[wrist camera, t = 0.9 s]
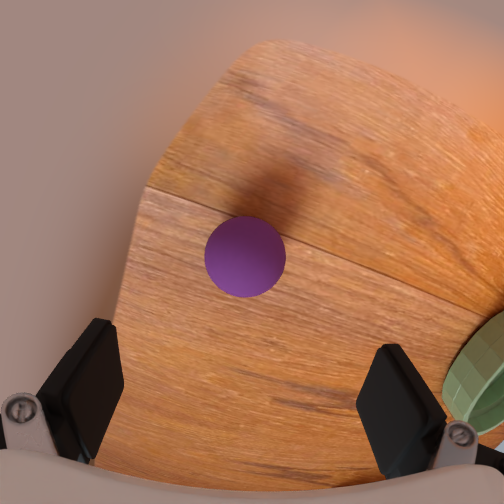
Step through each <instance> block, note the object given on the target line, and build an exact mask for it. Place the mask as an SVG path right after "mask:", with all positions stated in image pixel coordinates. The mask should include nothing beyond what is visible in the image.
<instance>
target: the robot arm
mask: <svg viewBox="0 0 504 504" xmlns="http://www.w3.org/2000/svg"><path fill="white" fill-rule="evenodd" d="M123 389H124V379H123V373H122V367H121V361H120V354H119V347H118V340H117V332H116V327H115V326H114V325H112V323H111V321H110V320H104V319H99V318H94V319H93V320H92V322H91V323H90V324H89V325H88V327H87V328H86V329H85V331H84V332H83V333H82V334H81V336H80V337H79V338H78V340H77V341H76V342H75V344H74V345H73V346H72V348H71V349H69V350H68V351H67V352H66V354H65V355H64V356H63V358H62V359H61V360H60V362H59V363H58V364H57V366H56V367H55V369H54V370H53V371H52V373H51V374H50V376H49V377H48V378H47V380H46V381H45V383H44V384H43V385H42V387H41V388H40V390H39V391H38V393H37V394H36V396H34V395H32V394H29V393H16V394H13V395H11V396H10V397H8V398H7V399H6V400H5V401H4V402H3V404H2V407H1V414H0V504H504V453H502V452H499V451H497V450H494V449H491V448H489V447H486V446H484V445H481V444H479V443H478V434H477V431H476V430H475V429H474V427H473V426H471V425H470V424H469V423H467V422H465V421H461V420H454V421H451V422H449V423H448V424H447V423H446V421H445V420H446V418H447V415H446V414H445V412H444V411H443V409H442V408H441V406H440V404H439V403H438V401H437V400H436V398H435V397H434V395H433V394H432V392H431V391H430V389H429V387H428V386H427V384H426V383H425V381H424V380H423V378H422V377H421V375H420V374H419V372H418V371H417V370H416V368H415V367H414V365H413V364H412V362H411V361H410V359H409V358H408V356H407V355H406V354H405V352H404V351H403V349H402V348H401V346H400V345H399V344H383V345H382V347H381V348H379V349H378V350H377V352H376V354H375V357H374V360H373V362H372V365H371V367H370V370H369V372H368V374H367V377H366V379H365V382H364V384H363V386H362V388H361V391H360V393H359V395H358V398H357V400H356V408H357V411H358V413H359V416H360V418H361V421H362V424H363V426H364V429H365V432H366V434H367V437H368V440H369V442H370V445H371V448H372V451H373V453H374V456H375V459H376V462H377V464H378V467H379V470H380V472H381V474H383V475H385V477H386V480H383V481H378V482H372V483H367V484H360V485H354V486H346V487H338V488H329V489H318V490H304V491H278V492H258V491H232V490H218V489H207V488H198V487H189V486H182V485H175V484H169V483H163V482H157V481H152V480H147V479H142V478H138V477H133V476H129V475H125V474H120V473H116V472H112V471H108V470H105V469H101V468H97V467H94V466H91V465H88V464H89V461H90V459H95V457H96V455H97V453H98V450H99V447H100V445H101V442H102V440H103V437H104V435H105V432H106V430H107V427H108V425H109V423H110V420H111V418H112V415H113V413H114V411H115V408H116V406H117V403H118V401H119V399H120V396H121V394H122V392H123Z"/></svg>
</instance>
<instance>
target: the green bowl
mask: <svg viewBox="0 0 504 504" xmlns="http://www.w3.org/2000/svg"><path fill="white" fill-rule="evenodd" d="M442 400H443V402H444V404H445V406H446V408H447V409H448V411H449V412H450V414H451V416H452V417H453V419H454V420H461V421H465V422H467V423H469V424H470V425H471V426H473V427H474V429H475V430H476V431H477V434H478V436H479V435H482V434H484V433H486V432H488V431H490V430H492V429H494V428H496V427H497V426H498V425H500V424H501V423H503V422H504V311H502V312H500V313H499V314H497V315H496V316H494V317H493V318H491V319H490V320H489V321H488V322H487V323H486V324H485V325H484V326H483V327H482V328H481V329H480V330H478V331H477V332H476V333H475V335H474V336H473V337H472V338H471V339H470V341H469V342H468V343H467V344H466V345H465V347H464V348H463V349H462V350H461V352H460V353H459V355H458V357H457V358H456V360H455V361H454V363H453V365H452V366H451V368H450V369H449V372H448V374H447V377H446V379H445V381H444V384H443V390H442Z"/></svg>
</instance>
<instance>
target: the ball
mask: <svg viewBox="0 0 504 504" xmlns="http://www.w3.org/2000/svg"><path fill="white" fill-rule="evenodd" d="M285 261H286V252H285V247H284V244H283V241H282V239H281V237H280V235H279V234H278V232H277V231H276V230H275V229H274V228H273V227H272V226H271V225H270V224H268V223H267V222H265V221H263V220H261V219H259V218H255V217H250V216H240V217H235V218H232V219H229V220H227V221H225V222H223V223H222V224H221V225H219V226H218V227H217V228H216V229H215V230H214V231H213V233H212V234H211V236H210V237H209V239H208V242H207V244H206V248H205V265H206V269H207V272H208V274H209V276H210V278H211V279H212V281H213V282H214V283H215V284H216V285H217V286H218V287H219V288H220V289H221V290H223V291H224V292H226V293H228V294H231V295H233V296H237V297H253V296H257V295H260V294H262V293H264V292H266V291H268V290H269V289H270V288H272V287H273V286H274V285H275V284H276V282H277V281H278V280H279V278H280V277H281V275H282V273H283V270H284V266H285Z"/></svg>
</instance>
